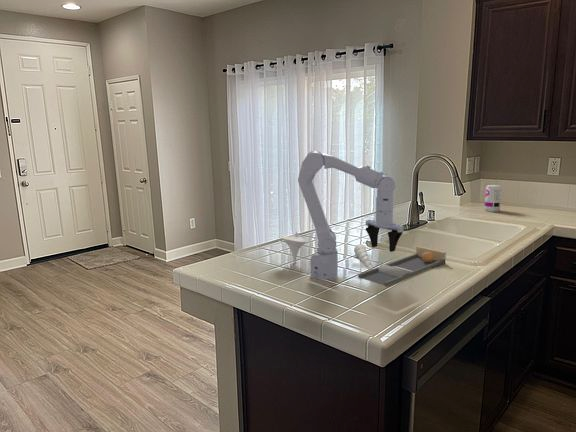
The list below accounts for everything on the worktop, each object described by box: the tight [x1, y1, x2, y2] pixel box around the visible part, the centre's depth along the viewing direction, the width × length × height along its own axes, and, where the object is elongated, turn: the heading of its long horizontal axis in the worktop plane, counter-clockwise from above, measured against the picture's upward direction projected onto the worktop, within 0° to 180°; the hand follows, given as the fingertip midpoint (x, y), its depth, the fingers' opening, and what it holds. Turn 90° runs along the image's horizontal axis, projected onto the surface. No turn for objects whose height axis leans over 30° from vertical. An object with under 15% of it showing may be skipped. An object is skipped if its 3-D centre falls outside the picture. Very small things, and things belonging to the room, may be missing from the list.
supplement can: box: [483, 184, 502, 213], centre depth 258 cm, size 8×8×15 cm
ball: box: [422, 252, 433, 263], centre depth 166 cm, size 4×4×4 cm
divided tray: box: [357, 245, 447, 287], centre depth 159 cm, size 36×12×8 cm, turn 130°
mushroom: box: [280, 231, 308, 263], centre depth 172 cm, size 10×11×12 cm
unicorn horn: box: [353, 244, 373, 271], centre depth 169 cm, size 5×24×5 cm, turn 179°
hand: (383, 248), depth 153 cm, fingers open, 7 cm apart
